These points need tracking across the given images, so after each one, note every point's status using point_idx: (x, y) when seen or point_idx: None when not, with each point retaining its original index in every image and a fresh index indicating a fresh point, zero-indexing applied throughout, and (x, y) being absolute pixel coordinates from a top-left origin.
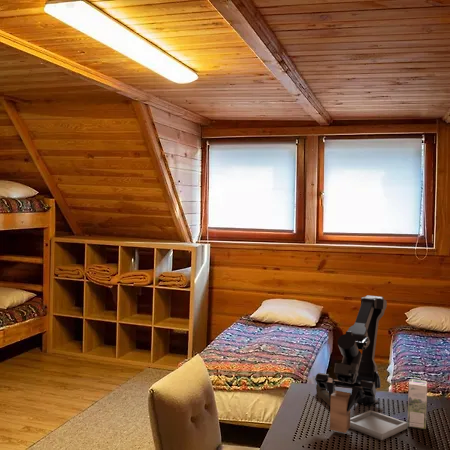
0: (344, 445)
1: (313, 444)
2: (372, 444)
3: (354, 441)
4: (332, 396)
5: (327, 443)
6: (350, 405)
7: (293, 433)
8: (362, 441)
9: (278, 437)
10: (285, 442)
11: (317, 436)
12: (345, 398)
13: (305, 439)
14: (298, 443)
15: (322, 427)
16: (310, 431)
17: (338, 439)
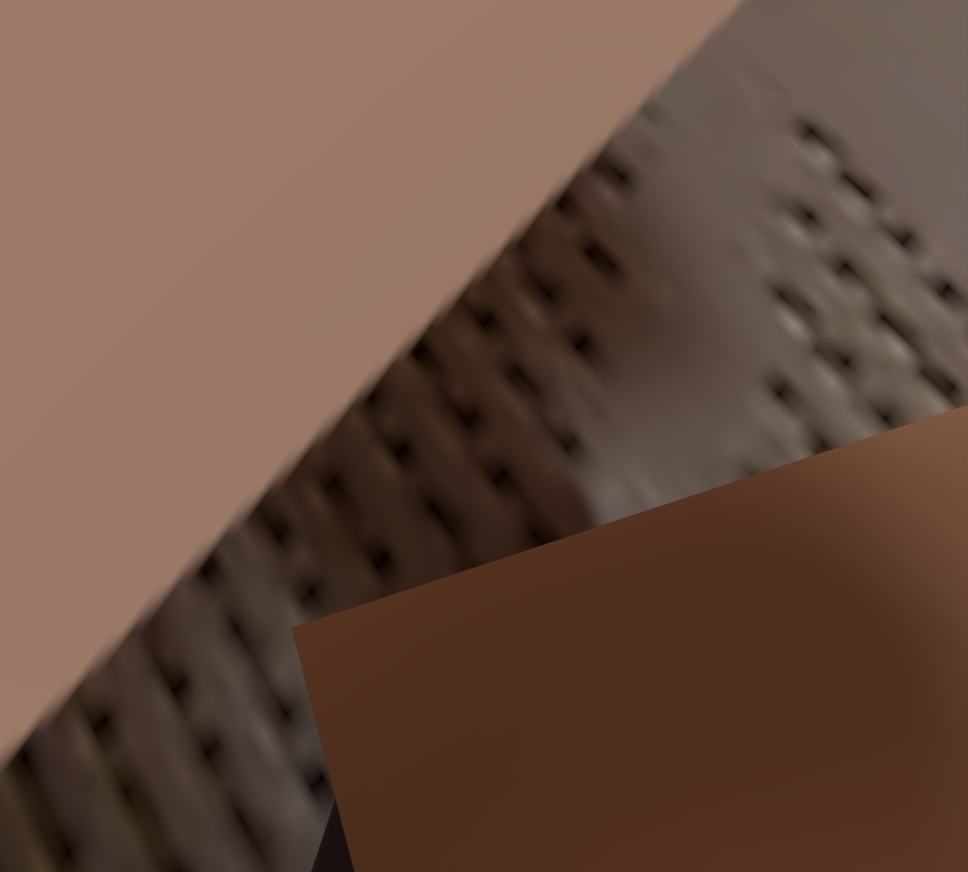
0: (308, 445)
1: (582, 201)
2: (39, 765)
3: (278, 652)
4: (891, 435)
5: (489, 338)
6: (327, 870)
7: (950, 260)
8: (195, 742)
9: (959, 66)
10: (814, 31)
11: (706, 408)
12: (335, 618)
13: (736, 236)
14: (709, 106)
15: None
16: None
17: (467, 538)
